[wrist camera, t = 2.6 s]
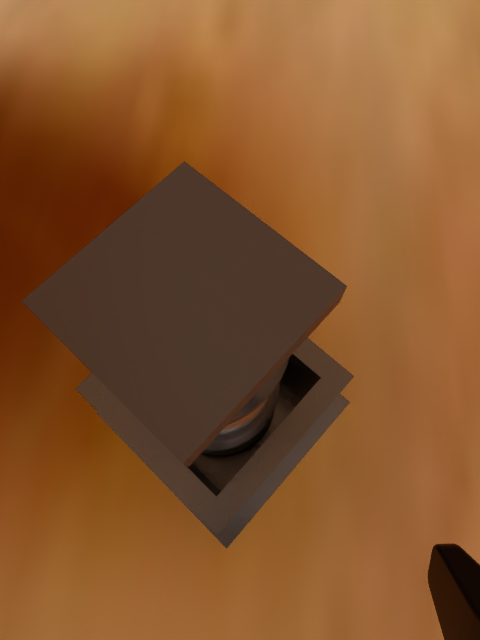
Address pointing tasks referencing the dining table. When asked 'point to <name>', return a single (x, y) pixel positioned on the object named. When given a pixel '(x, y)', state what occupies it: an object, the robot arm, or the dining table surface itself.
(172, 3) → the dining table surface
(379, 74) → the dining table surface
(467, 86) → the dining table surface
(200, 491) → the stand
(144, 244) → the column
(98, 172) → the dining table surface
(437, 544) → the robot arm
